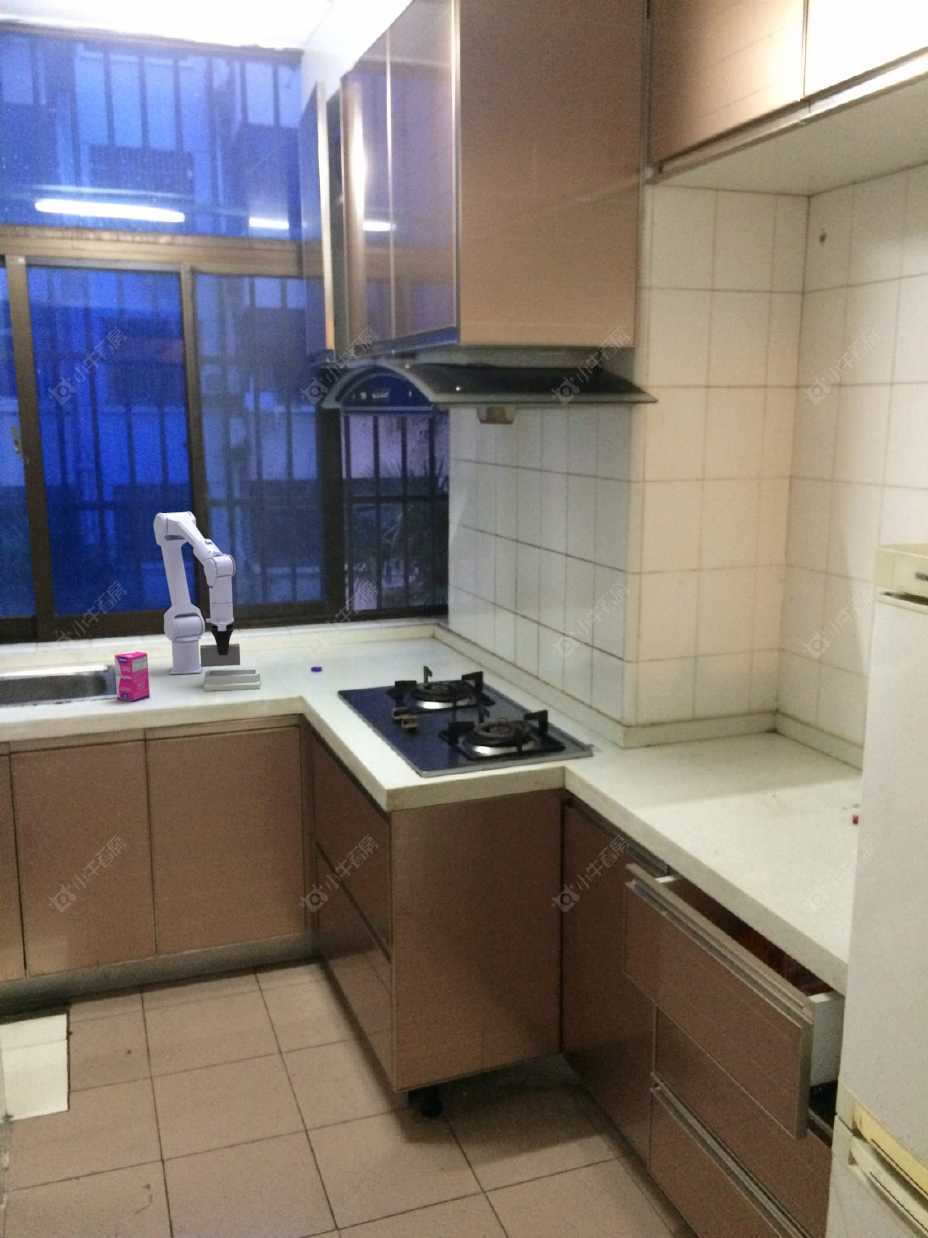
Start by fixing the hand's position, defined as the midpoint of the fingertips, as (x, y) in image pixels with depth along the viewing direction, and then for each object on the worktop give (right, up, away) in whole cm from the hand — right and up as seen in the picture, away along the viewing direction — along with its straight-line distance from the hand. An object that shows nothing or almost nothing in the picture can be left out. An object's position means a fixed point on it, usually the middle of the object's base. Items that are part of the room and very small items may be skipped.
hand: (223, 653), depth 270 cm
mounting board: (+2, -8, +2) cm, 9 cm away
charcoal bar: (-1, -3, 0) cm, 3 cm away
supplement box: (-19, -11, -13) cm, 26 cm away
